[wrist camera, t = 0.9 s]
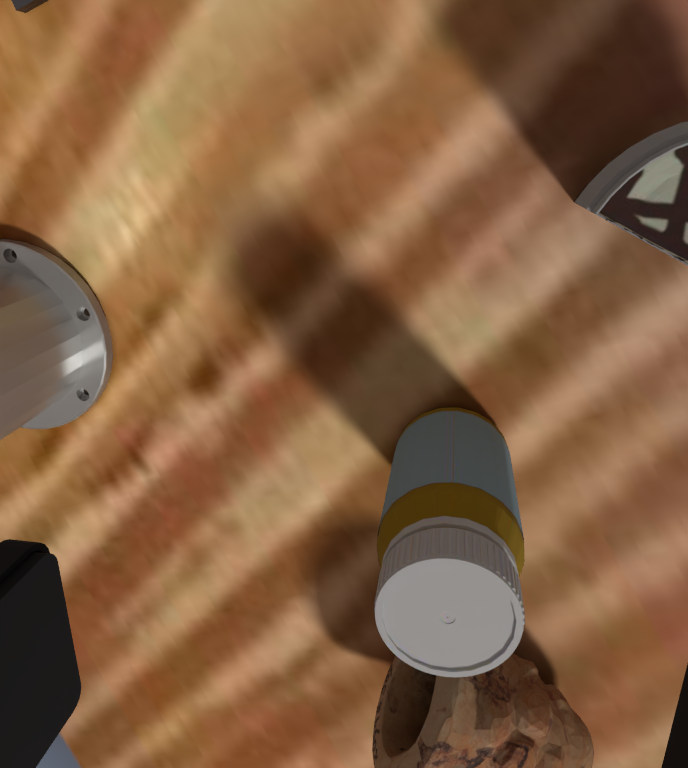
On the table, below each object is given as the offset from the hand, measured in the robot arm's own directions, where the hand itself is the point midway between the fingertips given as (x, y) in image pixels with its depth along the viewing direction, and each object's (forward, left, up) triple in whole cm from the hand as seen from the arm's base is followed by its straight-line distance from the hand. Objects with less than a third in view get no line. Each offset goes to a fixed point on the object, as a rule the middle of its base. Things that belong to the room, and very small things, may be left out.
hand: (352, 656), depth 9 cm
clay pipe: (-6, -31, -30) cm, 43 cm away
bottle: (-2, -11, -30) cm, 32 cm away
